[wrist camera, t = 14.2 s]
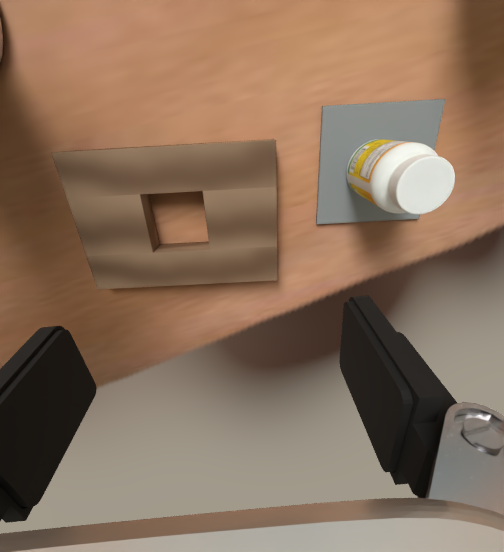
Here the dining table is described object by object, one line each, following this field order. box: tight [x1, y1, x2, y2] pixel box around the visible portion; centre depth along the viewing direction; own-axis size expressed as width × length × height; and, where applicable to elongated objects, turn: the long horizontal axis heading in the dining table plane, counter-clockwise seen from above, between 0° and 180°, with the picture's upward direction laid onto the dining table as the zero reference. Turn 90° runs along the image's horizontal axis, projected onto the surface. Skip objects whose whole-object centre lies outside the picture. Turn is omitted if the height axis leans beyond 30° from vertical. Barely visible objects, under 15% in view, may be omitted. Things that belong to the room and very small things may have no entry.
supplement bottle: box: [347, 139, 455, 214], centre depth 24 cm, size 5×5×10 cm
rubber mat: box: [316, 99, 445, 224], centre depth 29 cm, size 11×11×1 cm
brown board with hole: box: [52, 139, 277, 289], centre depth 30 cm, size 14×20×2 cm
